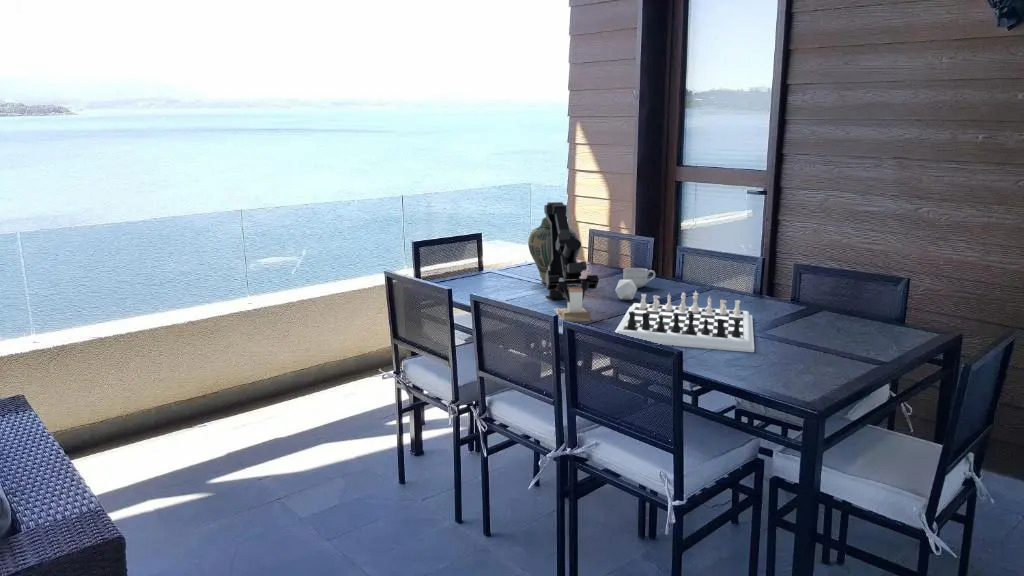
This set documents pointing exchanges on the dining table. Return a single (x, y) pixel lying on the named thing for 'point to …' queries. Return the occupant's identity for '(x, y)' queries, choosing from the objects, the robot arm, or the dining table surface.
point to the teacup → (637, 276)
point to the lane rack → (573, 315)
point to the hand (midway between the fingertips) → (575, 301)
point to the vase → (542, 246)
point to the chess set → (689, 325)
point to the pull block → (575, 299)
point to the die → (626, 289)
